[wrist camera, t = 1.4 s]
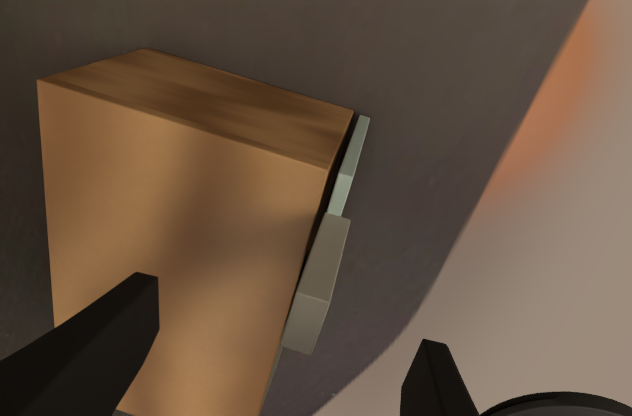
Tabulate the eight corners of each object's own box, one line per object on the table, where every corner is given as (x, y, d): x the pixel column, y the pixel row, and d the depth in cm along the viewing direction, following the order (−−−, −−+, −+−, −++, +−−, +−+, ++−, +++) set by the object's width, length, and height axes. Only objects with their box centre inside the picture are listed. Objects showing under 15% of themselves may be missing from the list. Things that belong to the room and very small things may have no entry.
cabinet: (354, 110, 20) (329, 170, 14) (282, 350, 28) (246, 454, 22) (146, 46, 21) (35, 78, 14) (134, 300, 28) (58, 389, 22)
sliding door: (378, 119, 20) (347, 256, 10) (331, 260, 24) (278, 450, 14) (358, 113, 20) (309, 244, 10) (315, 254, 24) (251, 441, 14)
